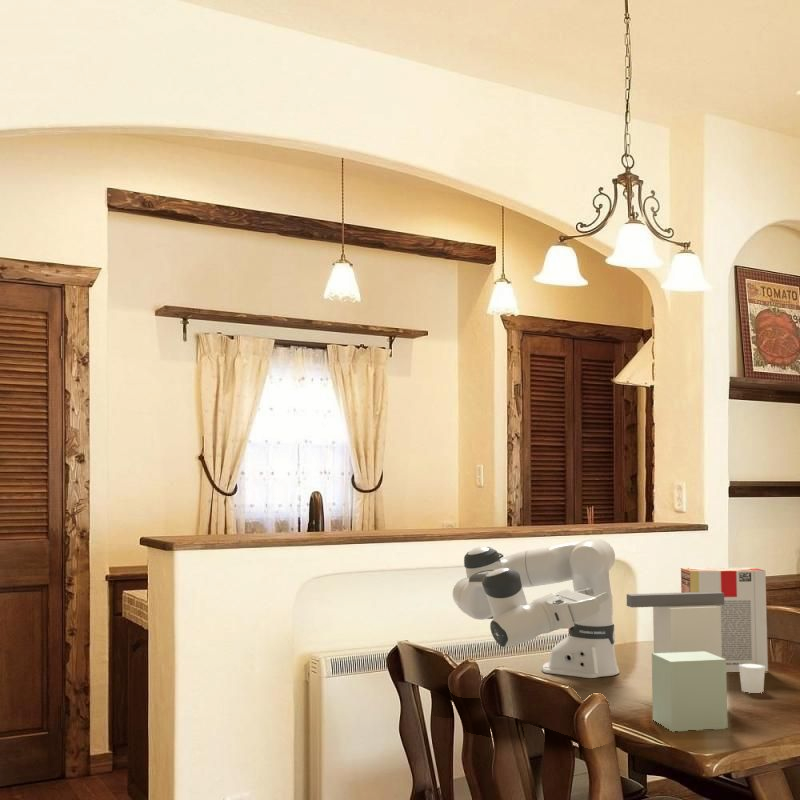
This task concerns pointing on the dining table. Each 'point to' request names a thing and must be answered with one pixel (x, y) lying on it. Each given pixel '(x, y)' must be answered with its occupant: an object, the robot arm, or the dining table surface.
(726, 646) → the pasta box
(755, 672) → the shot glass
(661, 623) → the tall stand
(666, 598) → the charcoal bar
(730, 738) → the dining table surface
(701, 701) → the low stand
